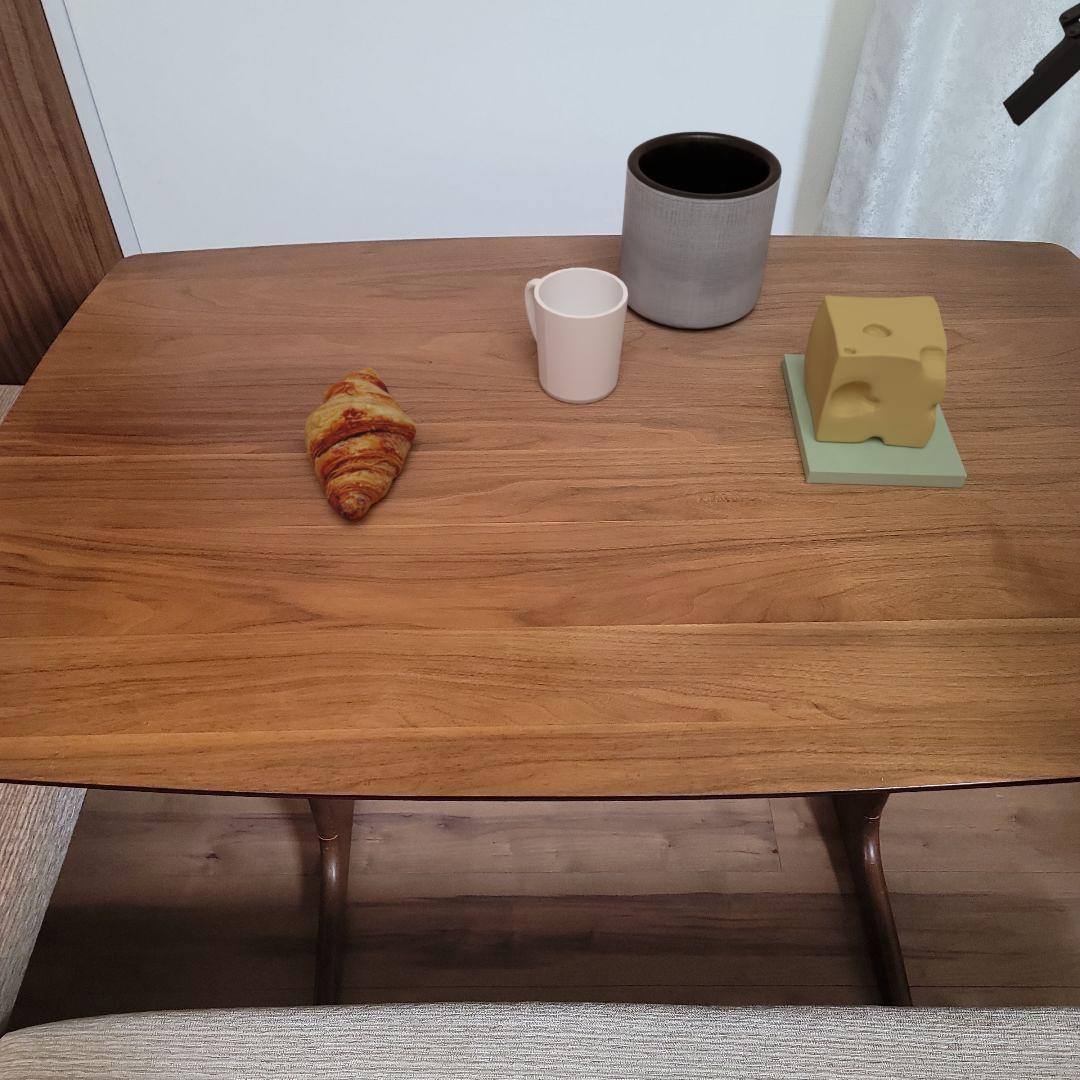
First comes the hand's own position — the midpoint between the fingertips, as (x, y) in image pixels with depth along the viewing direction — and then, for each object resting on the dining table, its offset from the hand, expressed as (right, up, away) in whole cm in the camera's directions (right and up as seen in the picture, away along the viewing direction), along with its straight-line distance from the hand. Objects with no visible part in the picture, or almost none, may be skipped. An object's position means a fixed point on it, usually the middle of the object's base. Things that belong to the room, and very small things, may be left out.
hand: (1063, 148), depth 74 cm
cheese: (-11, -19, +15) cm, 27 cm away
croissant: (-58, -23, +14) cm, 64 cm away
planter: (-25, -3, +32) cm, 41 cm away
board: (-10, -20, +16) cm, 28 cm away
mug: (-39, -15, +22) cm, 47 cm away
